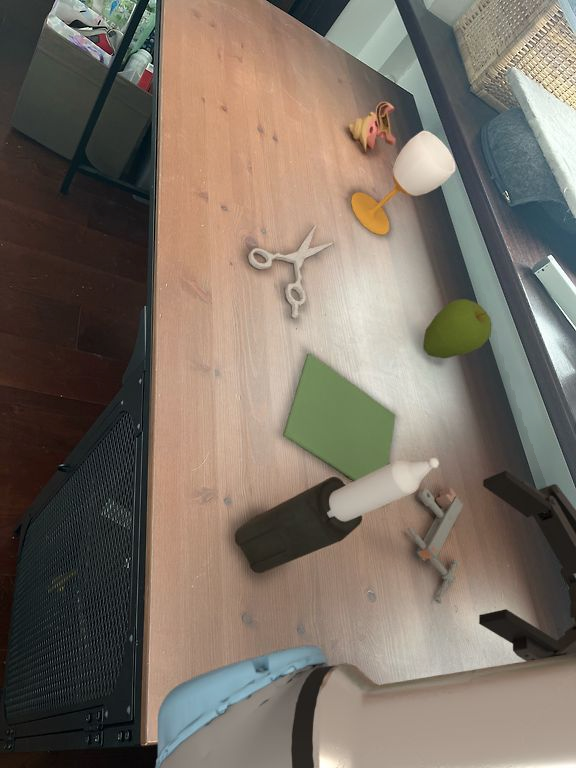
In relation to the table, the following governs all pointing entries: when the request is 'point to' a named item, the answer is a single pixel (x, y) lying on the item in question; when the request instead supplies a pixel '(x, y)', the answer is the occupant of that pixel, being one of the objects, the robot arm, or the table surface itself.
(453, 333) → the green rounded fruit
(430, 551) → the clamp
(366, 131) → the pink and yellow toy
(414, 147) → the cup
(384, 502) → the candle
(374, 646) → the table surface
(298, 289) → the scissors
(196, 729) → the robot arm
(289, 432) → the cloth
